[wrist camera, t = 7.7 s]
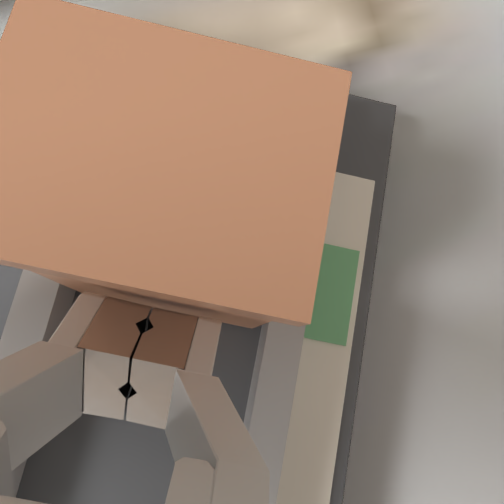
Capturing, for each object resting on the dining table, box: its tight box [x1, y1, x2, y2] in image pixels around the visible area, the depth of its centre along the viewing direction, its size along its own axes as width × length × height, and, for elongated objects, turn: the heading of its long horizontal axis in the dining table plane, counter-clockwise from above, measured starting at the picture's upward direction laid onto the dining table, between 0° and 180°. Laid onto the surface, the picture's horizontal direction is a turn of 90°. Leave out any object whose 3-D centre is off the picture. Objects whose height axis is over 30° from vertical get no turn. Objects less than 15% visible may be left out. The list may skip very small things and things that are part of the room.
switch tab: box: [0, 0, 352, 329], centre depth 10 cm, size 4×5×7 cm
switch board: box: [0, 94, 396, 504], centre depth 13 cm, size 22×12×4 cm, turn 169°
